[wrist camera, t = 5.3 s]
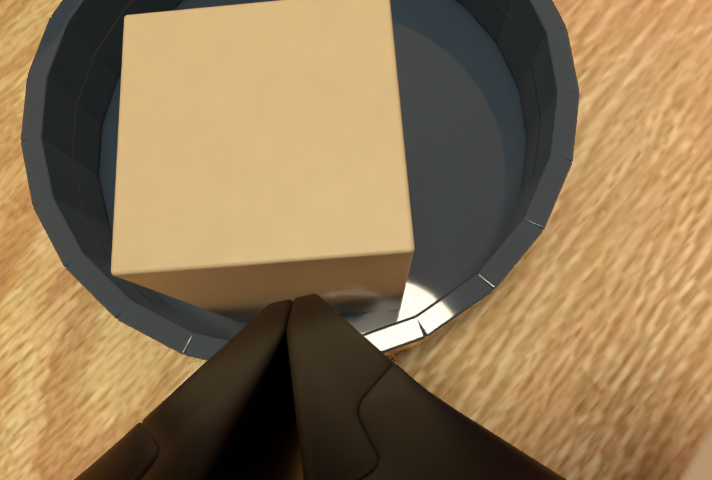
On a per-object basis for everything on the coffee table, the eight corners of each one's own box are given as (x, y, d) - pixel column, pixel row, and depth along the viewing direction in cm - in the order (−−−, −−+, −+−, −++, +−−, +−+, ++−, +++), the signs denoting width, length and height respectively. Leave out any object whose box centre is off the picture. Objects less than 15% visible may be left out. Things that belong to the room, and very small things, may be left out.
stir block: (400, 309, 16) (415, 251, 8) (235, 321, 16) (108, 275, 8) (386, 154, 17) (389, -12, 10) (233, 167, 17) (122, 13, 10)
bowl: (577, 352, 16) (630, 346, 12) (75, 387, 16) (-7, 391, 13) (505, -66, 19) (530, -159, 16) (103, -26, 20) (45, -109, 16)
